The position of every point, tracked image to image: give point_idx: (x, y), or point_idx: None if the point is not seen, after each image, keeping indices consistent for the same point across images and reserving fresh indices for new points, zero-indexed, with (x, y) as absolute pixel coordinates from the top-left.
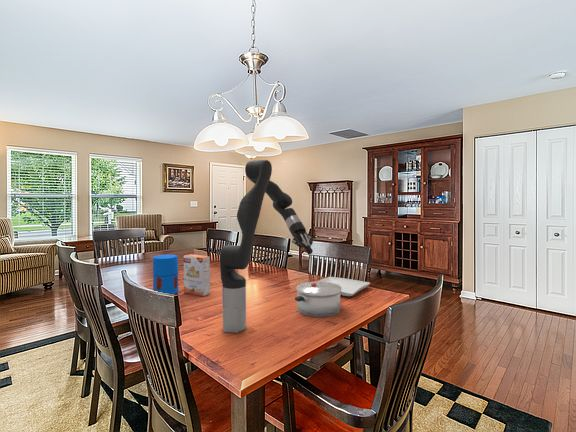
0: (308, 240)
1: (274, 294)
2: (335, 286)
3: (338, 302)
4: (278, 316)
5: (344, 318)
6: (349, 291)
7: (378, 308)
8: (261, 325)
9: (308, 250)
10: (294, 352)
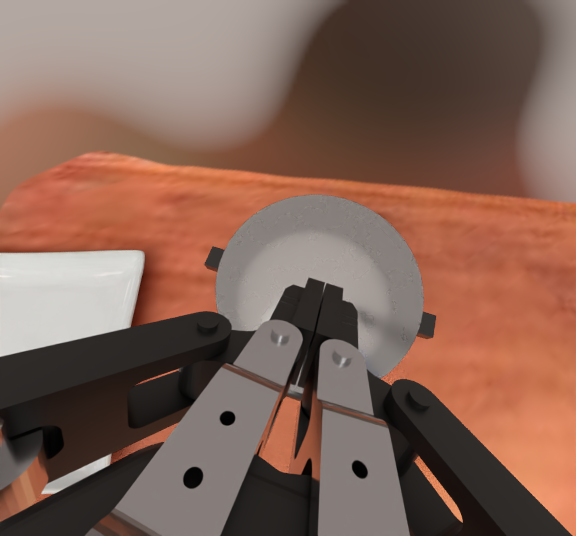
0: (233, 372)
1: None
2: (264, 231)
3: None
4: (456, 382)
5: None
6: (66, 300)
7: (199, 173)
8: (550, 379)
9: (348, 311)
10: (567, 215)
